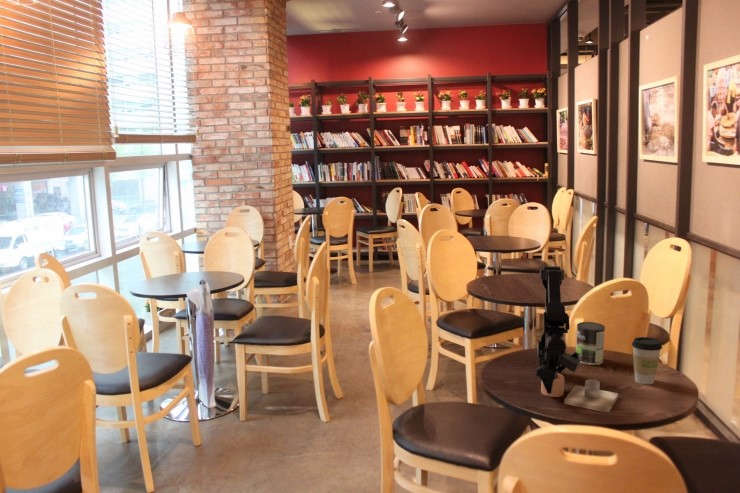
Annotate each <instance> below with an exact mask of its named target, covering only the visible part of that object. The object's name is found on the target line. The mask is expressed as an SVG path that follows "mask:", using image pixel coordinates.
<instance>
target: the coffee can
mask: <svg viewBox="0 0 740 493" xmlns="http://www.w3.org/2000/svg"><path fill="white" fill-rule="evenodd" d="M605 329H606V326H605V325H603V324H602V323H599V322H593V321H582V322H578V323H577V324H576V342H575V343H576V344H575V345H576V346H575V348H576V349H575V352H576V353H578V354H579V359H580V363H579V364H582V365H589V366H597V365H602V364H603V362H604V347H605V332H606V331H605Z"/></svg>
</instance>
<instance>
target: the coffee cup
mask: <svg viewBox="0 0 740 493" xmlns="http://www.w3.org/2000/svg"><path fill="white" fill-rule="evenodd" d="M631 346H632V350H633V351H632V358H633V359H632V361H633V371H634V381H635V382H636V383H638V384H640V385H641V384H642V385H653V384H654V382H655V378H656V374H657V370H658V366H659V360H660V355H661V354H660V353H661V349H662V348H663V346H662V343H661V341H660V340H659V339H656V338H653V337H650V336H649V337H647V336H638V337H635V338H634V339H633V341H632V343H631Z"/></svg>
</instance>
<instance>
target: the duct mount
mask: <svg viewBox="0 0 740 493" xmlns="http://www.w3.org/2000/svg"><path fill="white" fill-rule="evenodd" d="M600 384H601V383H600V381H599V380H596V379H592V378H591V379H585V381H584V386H582V385H574V387H573V388H572V389H571V391H570V392H569V393H568V394H567V396H566V397H565V398H564V402H563V404H564V405H569V406H573V407H579V408H583V409H589V410H593V411H598V412H602V413H606V414H607V413H608V414H609V413H610V412H611V411H612V409H613V407H614V406H615V404H616V402H617V400H618V399H619V392H618V393H617V392H612V391H607V390H602V389H600V387H601V385H600Z"/></svg>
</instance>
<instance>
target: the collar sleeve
mask: <svg viewBox="0 0 740 493" xmlns="http://www.w3.org/2000/svg"><path fill="white" fill-rule="evenodd" d="M557 376H558V377H557V378H556V379H555V380H554V381H553V386H552V391H551V393H547V391H546V389H545V386H544V384H543V382H542V380H541V379H540V380H541V381H540V382H541V384H540V386H541V388H540V392H541V394H542V395H544V396H546V397H550V398H553V397H554V398H559V397H562V396H564V392H565V376H564V375H563V374H562V373H561V374H559V373H558V375H557Z"/></svg>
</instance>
